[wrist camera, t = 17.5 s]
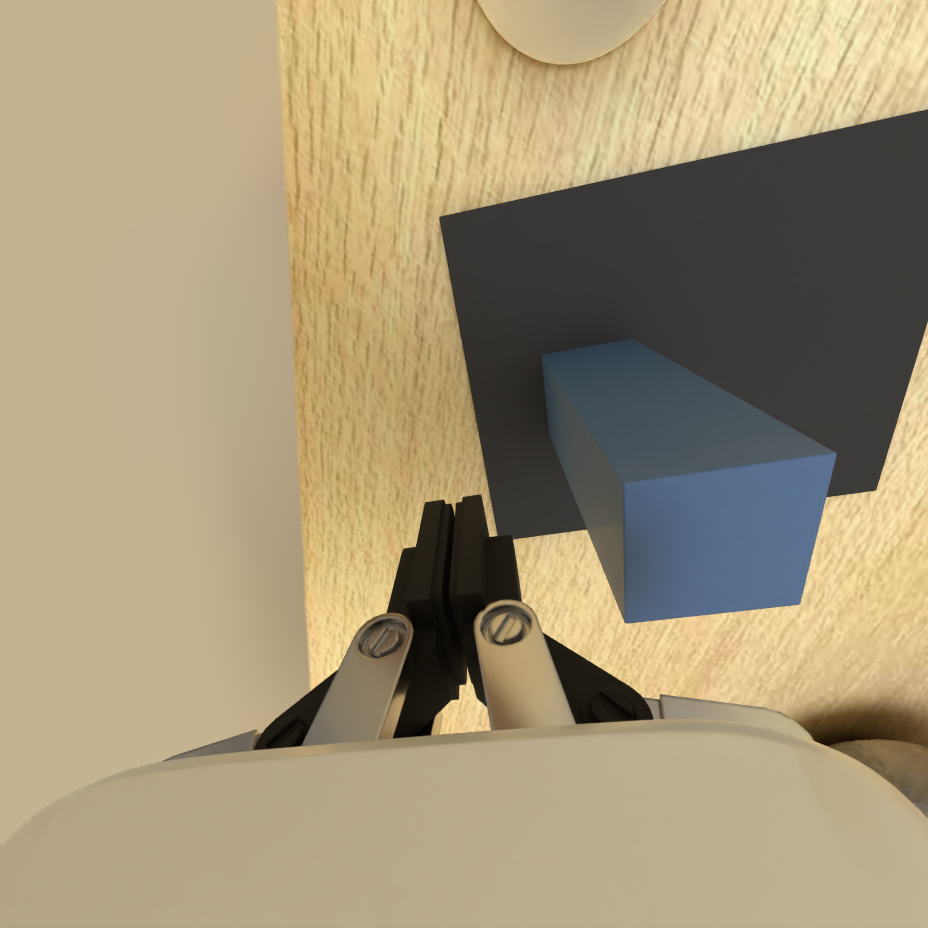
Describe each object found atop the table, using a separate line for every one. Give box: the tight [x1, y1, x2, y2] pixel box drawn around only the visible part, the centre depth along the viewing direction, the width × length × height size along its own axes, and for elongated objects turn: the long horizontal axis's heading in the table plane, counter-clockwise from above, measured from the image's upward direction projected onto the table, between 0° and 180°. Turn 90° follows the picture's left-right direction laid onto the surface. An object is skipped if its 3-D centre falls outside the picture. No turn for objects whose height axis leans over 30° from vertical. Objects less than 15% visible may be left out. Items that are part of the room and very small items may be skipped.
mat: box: [439, 110, 928, 539], centre depth 21 cm, size 22×18×1 cm
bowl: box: [827, 739, 928, 818], centre depth 33 cm, size 18×18×8 cm
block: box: [541, 339, 836, 624], centre depth 16 cm, size 4×4×13 cm
